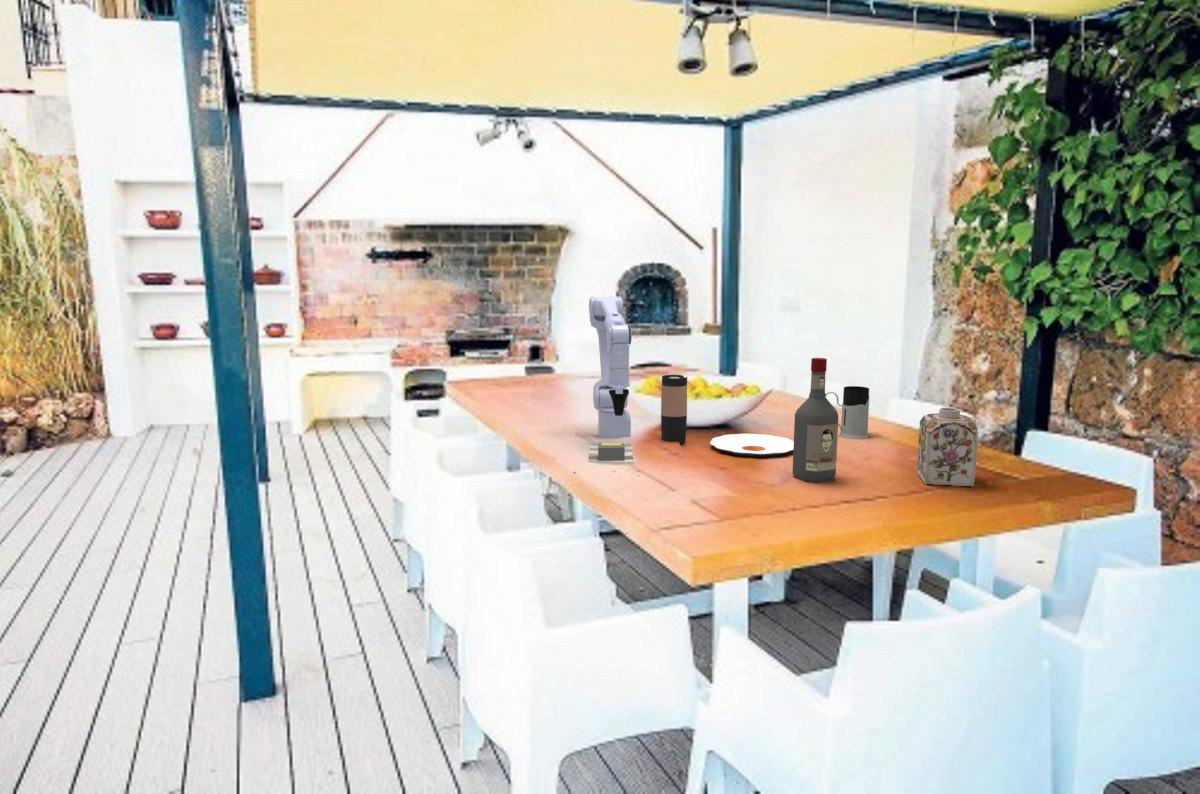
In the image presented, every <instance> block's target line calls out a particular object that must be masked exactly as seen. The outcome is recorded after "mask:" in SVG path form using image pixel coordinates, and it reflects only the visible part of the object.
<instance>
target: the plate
mask: <svg viewBox="0 0 1200 794" xmlns="http://www.w3.org/2000/svg"><path fill="white" fill-rule="evenodd" d="M709 445H710V446H712V447H713V448H716V449H717V450H720V451H722V452H725V453H727V454H732V455H737V456H743V457H744V456H745V457H760V458H761V457H775V456H781V455H784V454H787V453H790V452H793V448H794V440H791V439H790V438H789V437H784V436H777V435H772V434H760V433H735V434H733V433H732V434H723V435H721V436H716V437H713V438H712V439H711V441H710V442H709ZM751 446H752V447H761V448H764V450H748V449H744V447H751Z"/></svg>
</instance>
